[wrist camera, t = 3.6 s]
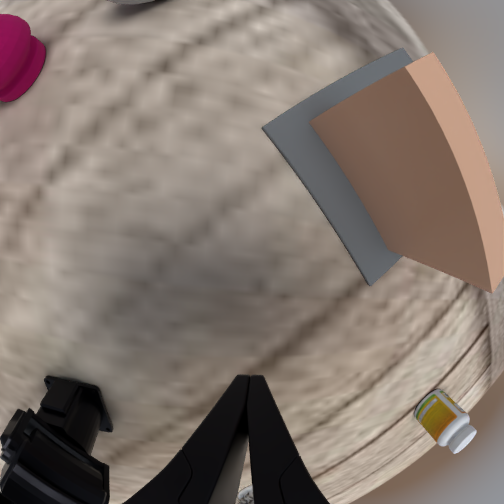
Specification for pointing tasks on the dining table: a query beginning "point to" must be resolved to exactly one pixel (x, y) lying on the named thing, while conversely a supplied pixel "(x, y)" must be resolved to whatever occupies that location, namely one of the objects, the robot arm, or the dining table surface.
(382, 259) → the rubber mat
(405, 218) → the terracotta tile
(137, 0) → the donut
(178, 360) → the dining table surface
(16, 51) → the pepper mill
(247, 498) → the decorative candle
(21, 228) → the dining table surface
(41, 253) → the dining table surface
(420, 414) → the supplement bottle
